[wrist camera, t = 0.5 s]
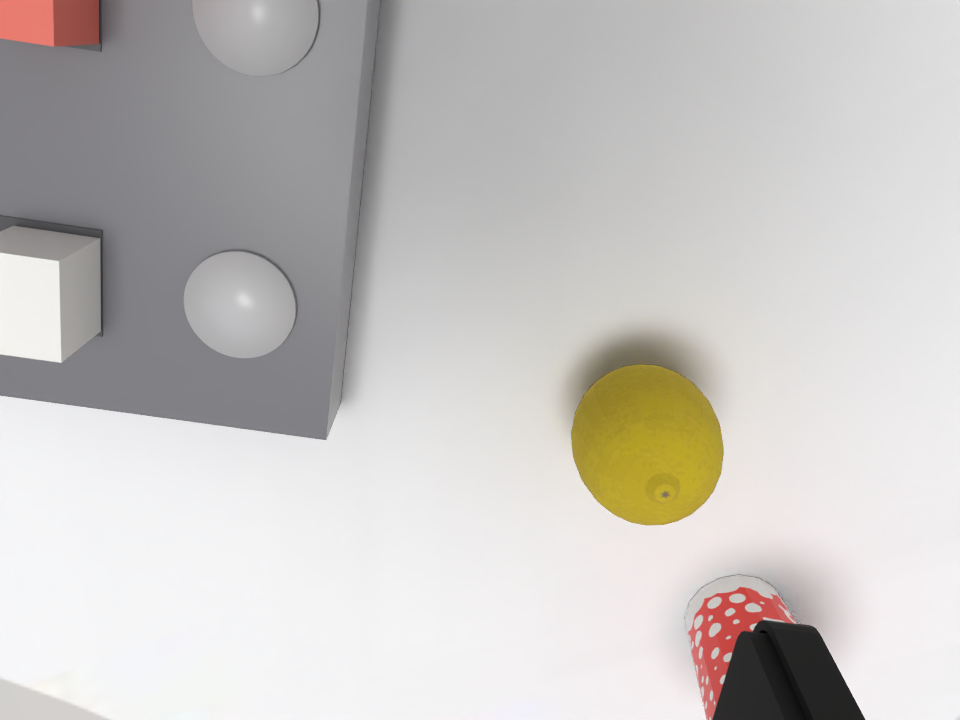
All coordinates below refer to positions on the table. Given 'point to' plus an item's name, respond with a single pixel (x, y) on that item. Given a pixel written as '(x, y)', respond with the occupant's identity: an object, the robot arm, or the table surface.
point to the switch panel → (199, 202)
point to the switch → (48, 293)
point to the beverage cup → (726, 626)
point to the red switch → (50, 21)
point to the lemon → (647, 444)
